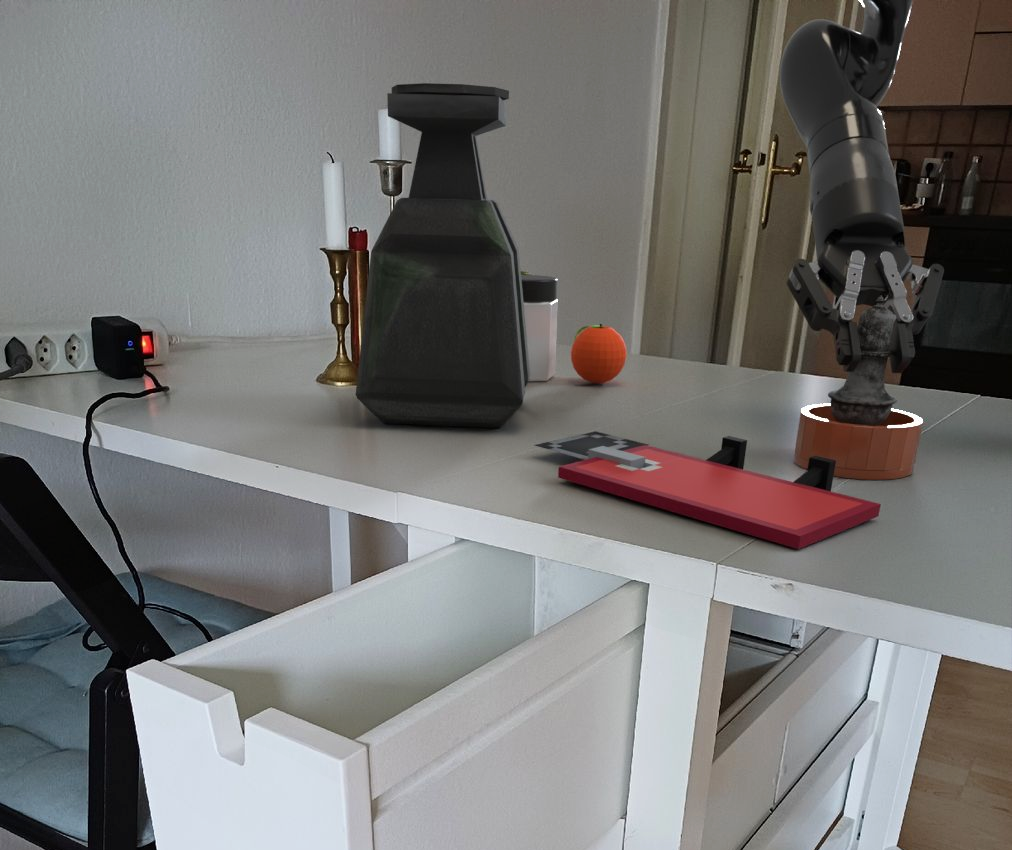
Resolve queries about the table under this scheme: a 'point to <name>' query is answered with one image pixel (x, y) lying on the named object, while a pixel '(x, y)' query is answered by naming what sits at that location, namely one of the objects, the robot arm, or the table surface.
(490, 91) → the bottle
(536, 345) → the jar
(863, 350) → the salt shaker
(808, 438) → the round brown bowl
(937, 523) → the table surface
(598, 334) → the clementine
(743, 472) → the red board with handle
